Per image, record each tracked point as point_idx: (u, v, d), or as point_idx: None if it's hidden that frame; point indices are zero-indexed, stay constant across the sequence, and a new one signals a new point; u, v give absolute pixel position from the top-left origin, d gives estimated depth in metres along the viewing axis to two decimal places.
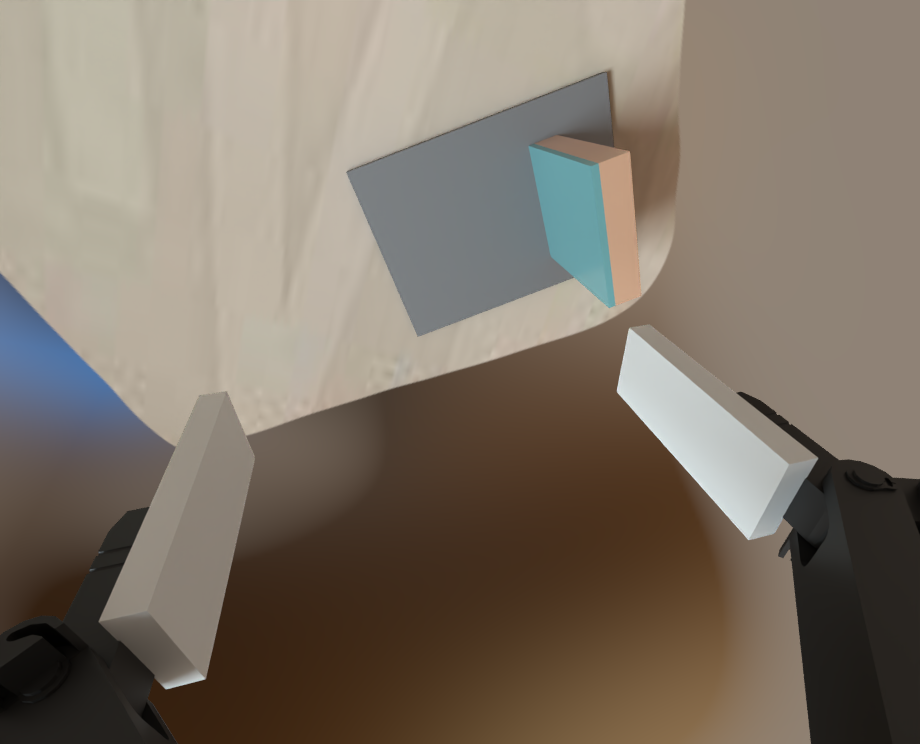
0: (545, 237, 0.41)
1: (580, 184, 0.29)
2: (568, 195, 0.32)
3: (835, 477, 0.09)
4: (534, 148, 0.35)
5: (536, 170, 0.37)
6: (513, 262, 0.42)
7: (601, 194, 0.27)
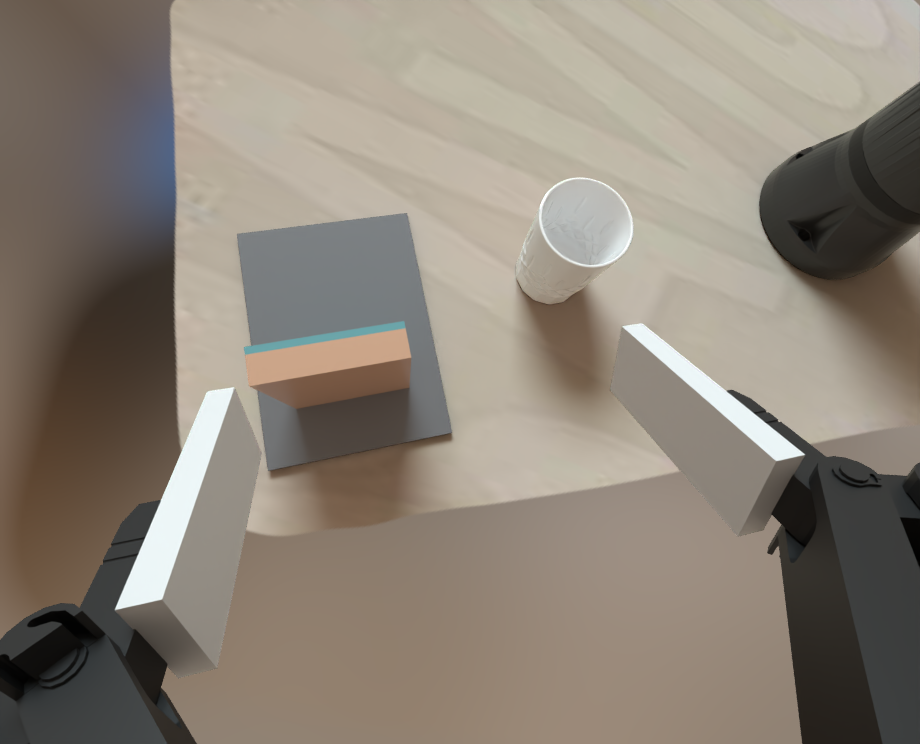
0: None
1: None
2: None
3: (822, 474, 0.10)
4: None
5: None
6: None
7: (376, 332, 0.28)
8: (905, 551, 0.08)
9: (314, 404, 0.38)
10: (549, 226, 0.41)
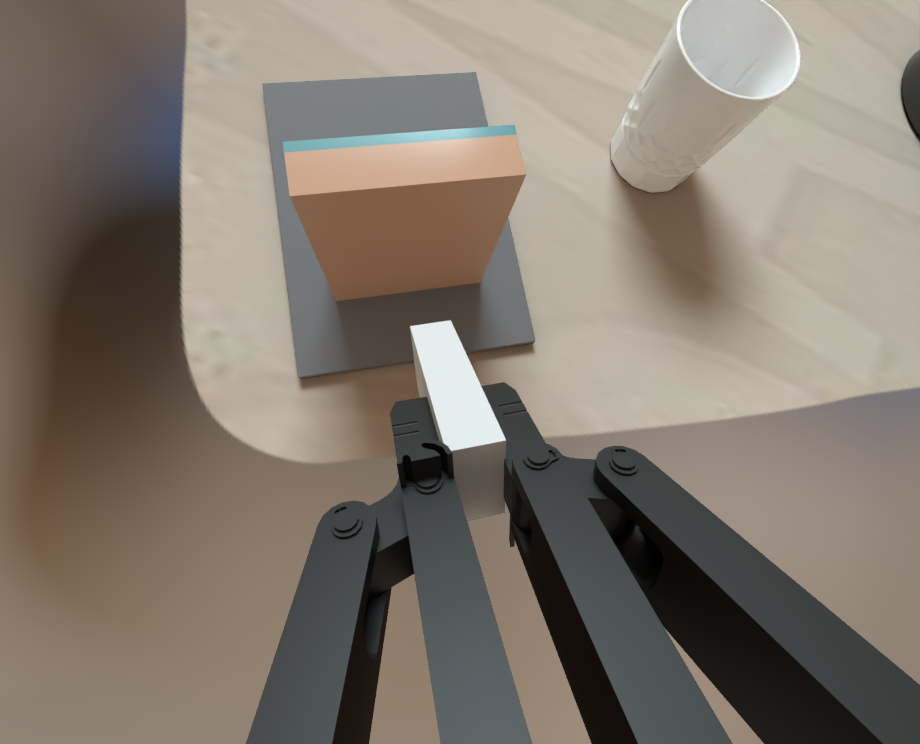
0: None
1: None
2: None
3: (518, 468, 0.10)
4: None
5: None
6: None
7: (475, 136, 0.19)
8: (591, 516, 0.09)
9: (360, 295, 0.29)
10: None
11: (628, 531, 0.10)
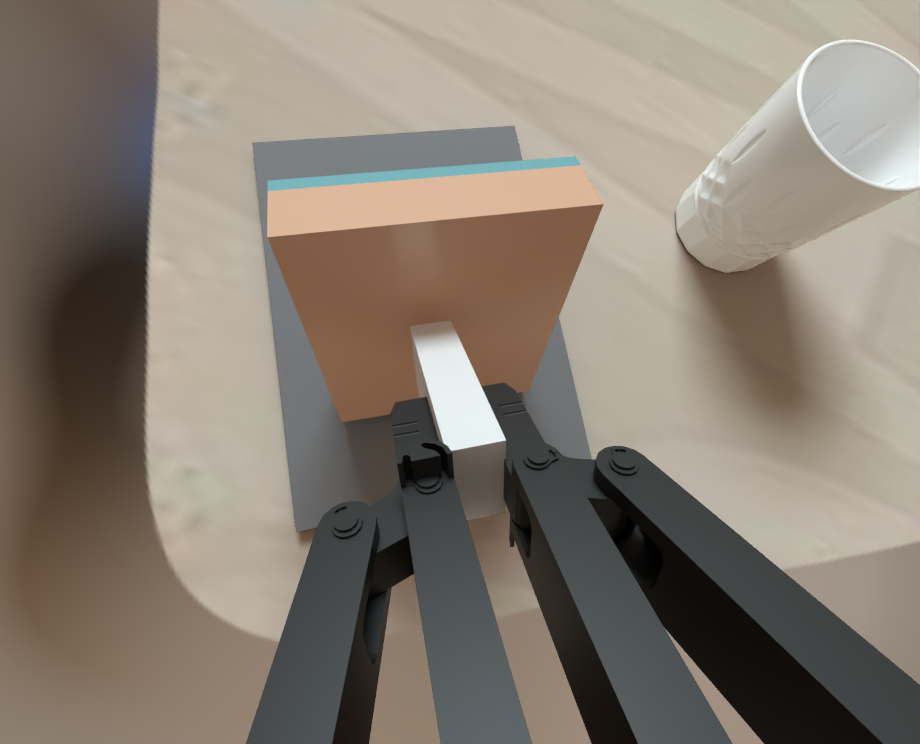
0: None
1: None
2: None
3: (518, 468, 0.10)
4: None
5: None
6: None
7: (527, 168, 0.14)
8: (592, 516, 0.09)
9: (373, 412, 0.22)
10: None
11: (628, 531, 0.10)
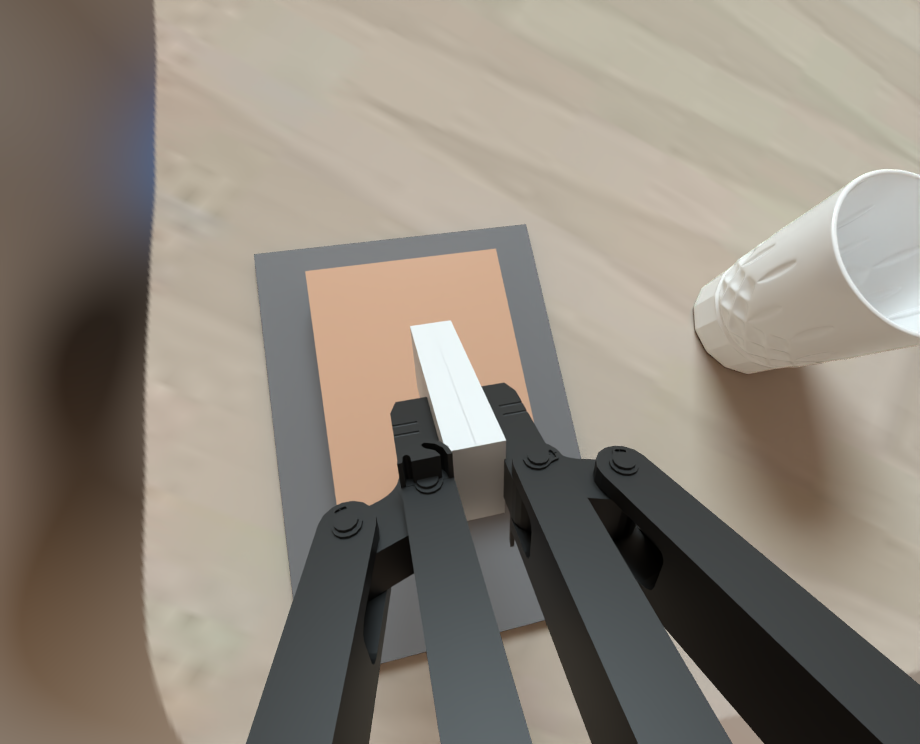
0: None
1: None
2: None
3: (518, 469, 0.10)
4: None
5: None
6: None
7: None
8: (592, 516, 0.09)
9: (372, 496, 0.20)
10: None
11: (628, 531, 0.10)
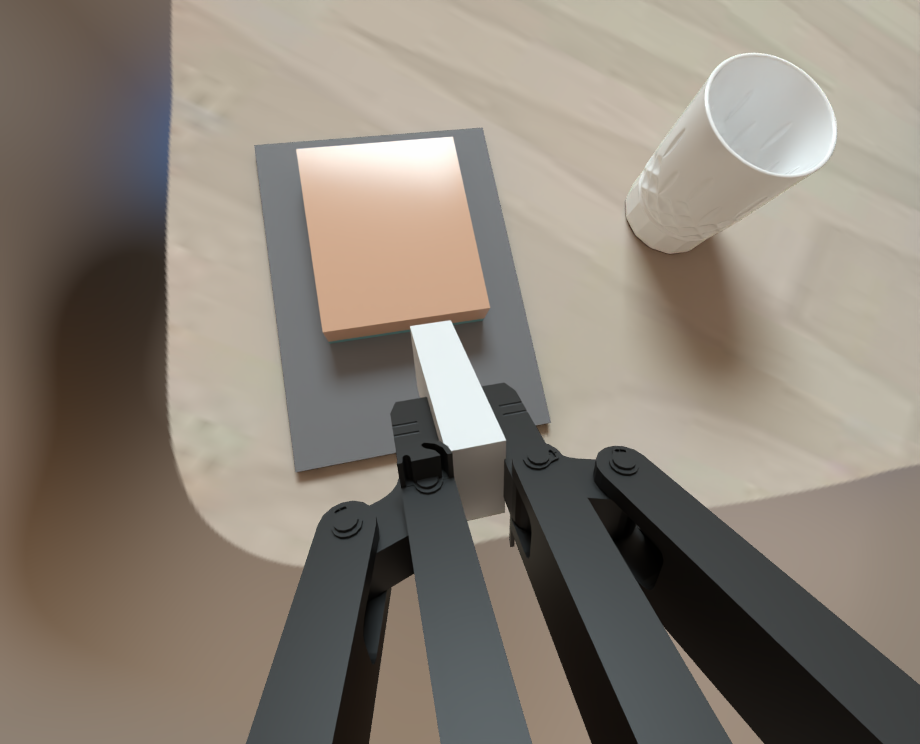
0: (361, 339, 0.28)
1: None
2: None
3: (518, 469, 0.10)
4: None
5: None
6: None
7: None
8: (592, 516, 0.09)
9: (350, 319, 0.26)
10: None
11: (628, 531, 0.10)
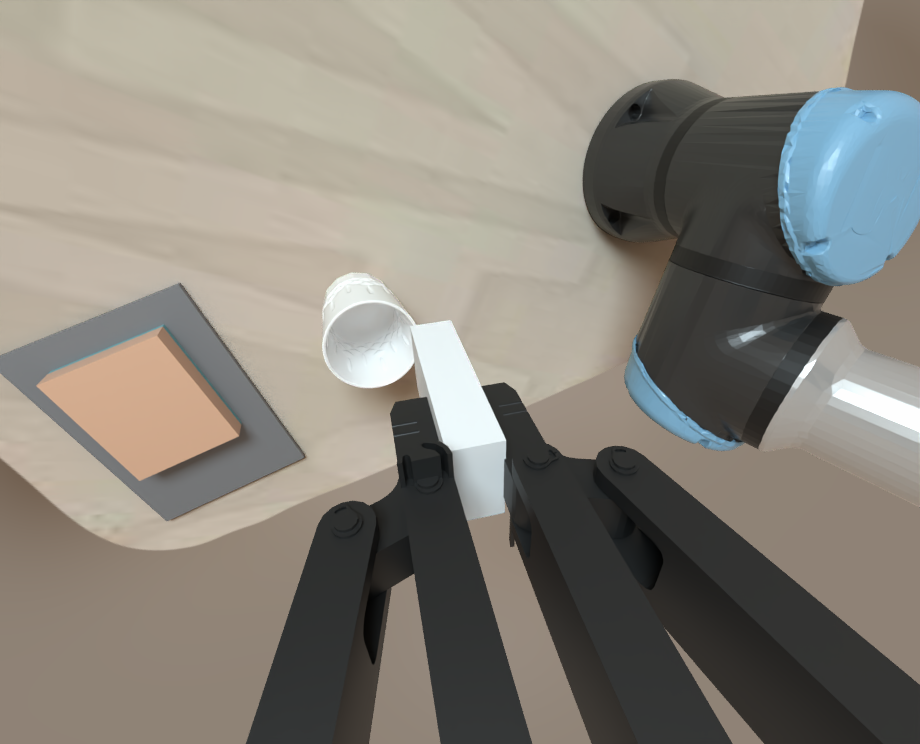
0: None
1: None
2: None
3: (518, 469, 0.10)
4: (232, 411, 0.44)
5: None
6: None
7: (142, 334, 0.38)
8: (592, 516, 0.09)
9: (152, 469, 0.42)
10: None
11: (628, 531, 0.10)
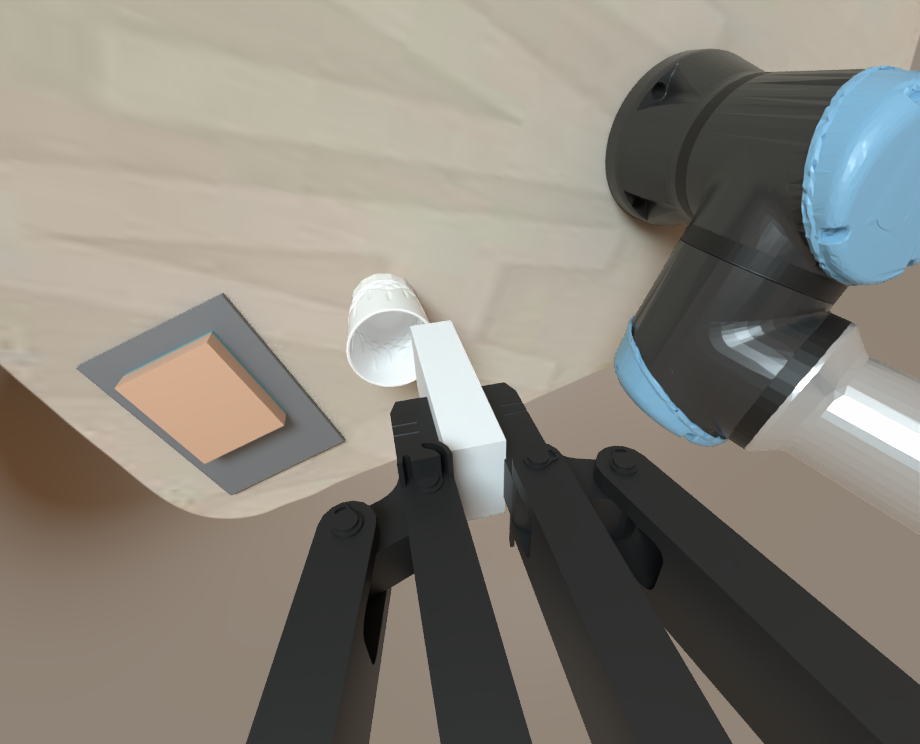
0: None
1: None
2: None
3: (518, 469, 0.10)
4: (277, 403, 0.49)
5: None
6: None
7: (195, 340, 0.43)
8: (592, 516, 0.09)
9: (214, 454, 0.48)
10: None
11: (628, 531, 0.10)
